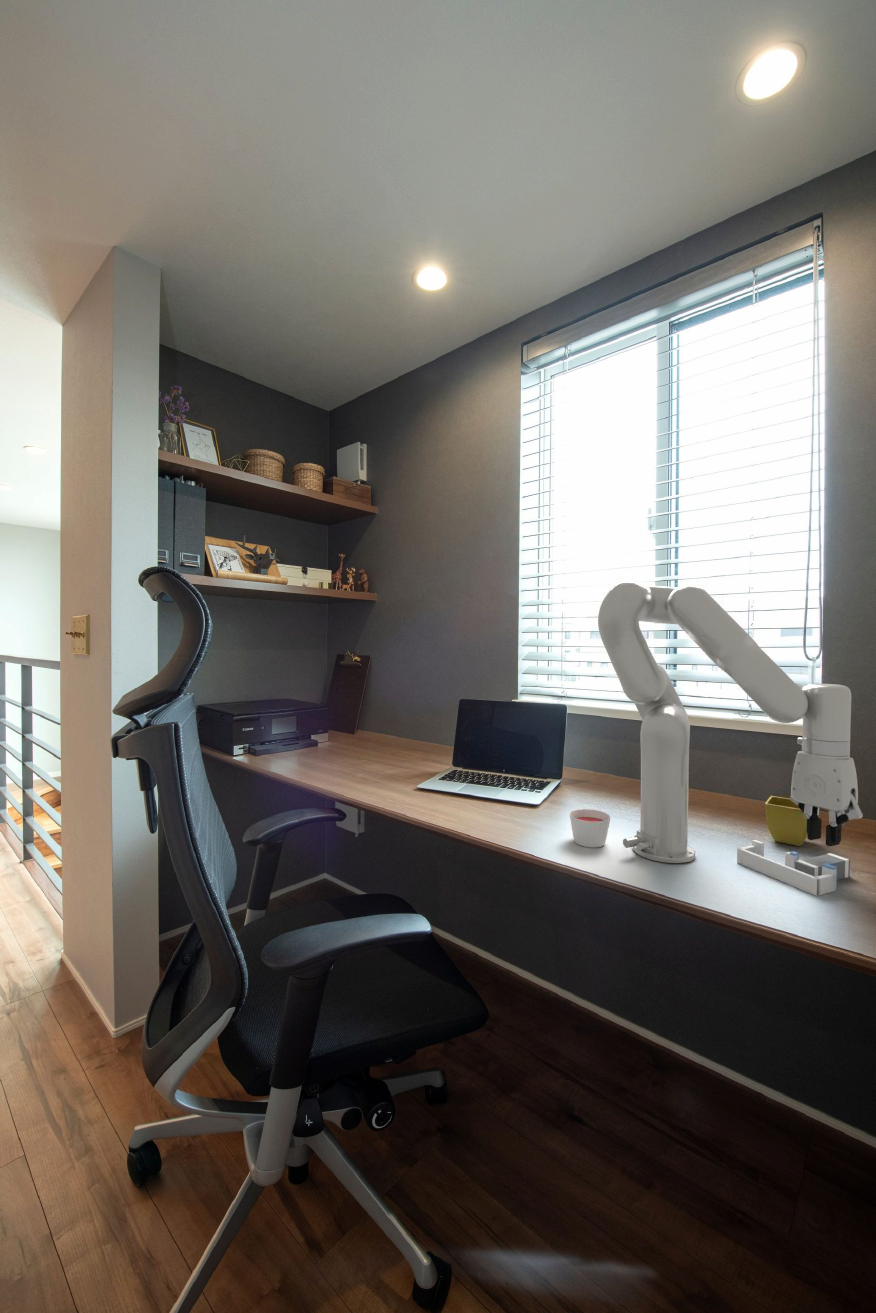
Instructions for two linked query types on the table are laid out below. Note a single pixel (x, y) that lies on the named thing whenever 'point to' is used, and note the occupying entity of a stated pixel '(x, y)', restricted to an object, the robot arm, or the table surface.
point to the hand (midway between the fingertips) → (823, 841)
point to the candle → (589, 827)
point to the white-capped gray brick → (815, 863)
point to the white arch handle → (788, 870)
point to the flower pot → (785, 821)
